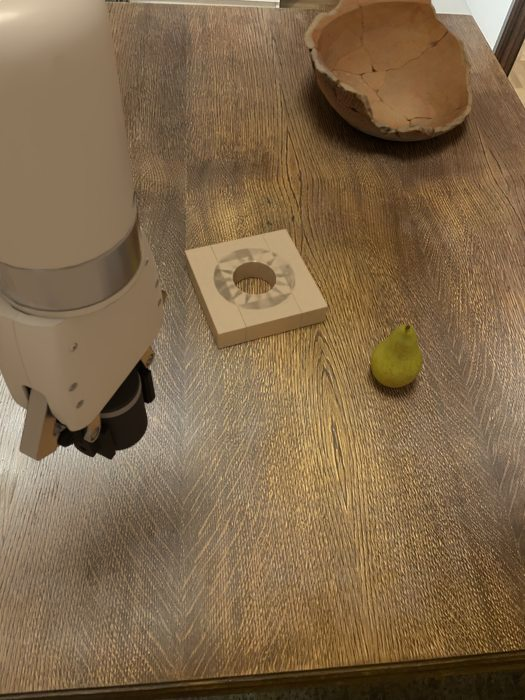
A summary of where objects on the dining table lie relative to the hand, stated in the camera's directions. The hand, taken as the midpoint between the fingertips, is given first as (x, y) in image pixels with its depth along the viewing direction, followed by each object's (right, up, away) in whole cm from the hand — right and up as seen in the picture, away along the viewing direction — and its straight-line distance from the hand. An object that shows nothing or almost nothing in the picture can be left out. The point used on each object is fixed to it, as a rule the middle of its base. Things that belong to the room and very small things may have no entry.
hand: (116, 418), depth 44 cm
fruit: (+26, +2, +27) cm, 38 cm away
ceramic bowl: (+31, +47, +60) cm, 82 cm away
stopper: (0, 0, +1) cm, 1 cm away
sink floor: (+10, +12, +33) cm, 37 cm away
